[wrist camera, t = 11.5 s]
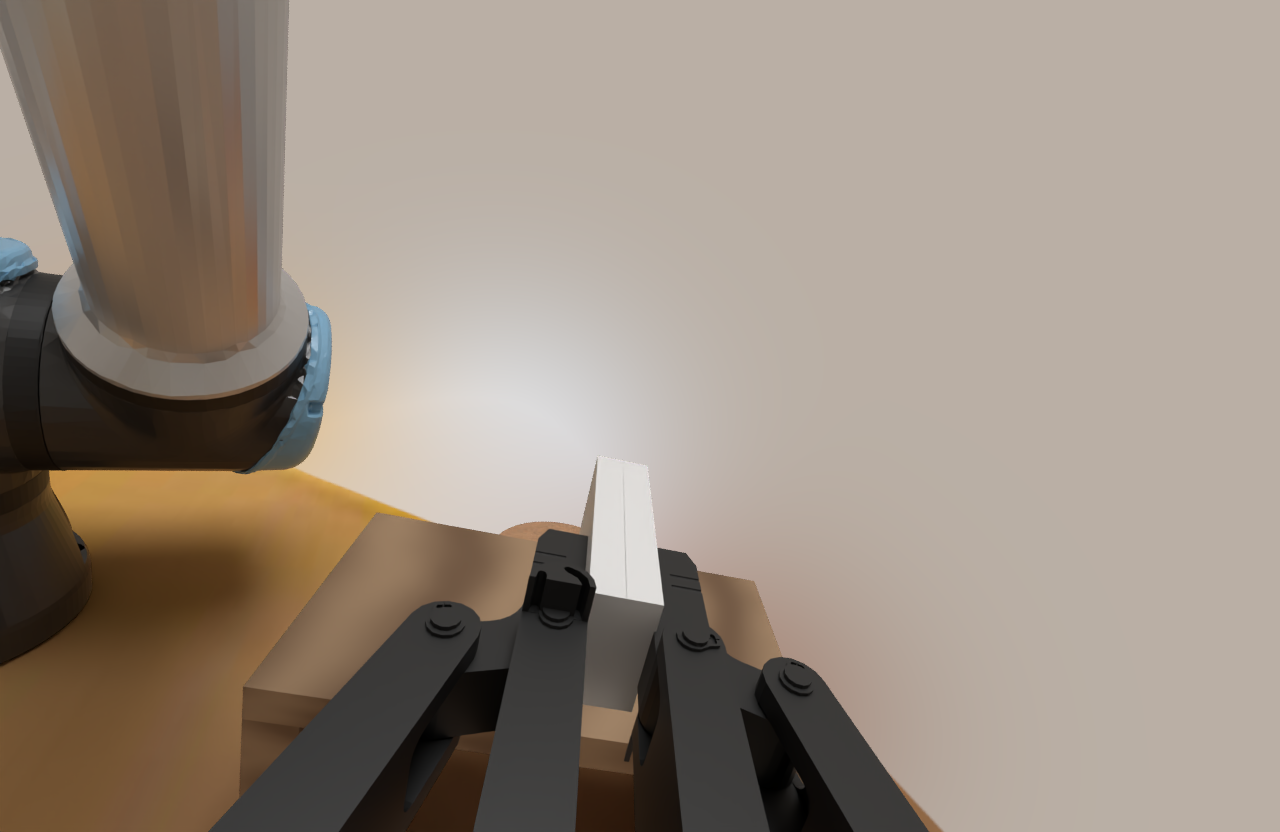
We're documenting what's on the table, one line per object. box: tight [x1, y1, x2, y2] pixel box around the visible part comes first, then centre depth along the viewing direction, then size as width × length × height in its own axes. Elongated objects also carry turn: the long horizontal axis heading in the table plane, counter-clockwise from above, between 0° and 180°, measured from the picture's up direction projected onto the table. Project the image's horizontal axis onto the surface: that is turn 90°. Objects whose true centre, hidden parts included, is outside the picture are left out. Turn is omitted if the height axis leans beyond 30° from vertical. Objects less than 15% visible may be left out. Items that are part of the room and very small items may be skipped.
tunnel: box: [239, 513, 802, 798], centre depth 31 cm, size 22×13×14 cm, turn 92°
